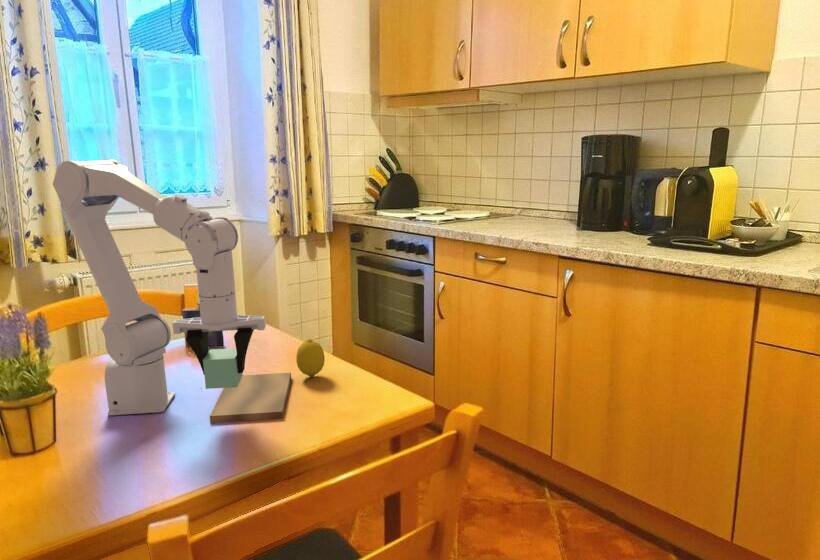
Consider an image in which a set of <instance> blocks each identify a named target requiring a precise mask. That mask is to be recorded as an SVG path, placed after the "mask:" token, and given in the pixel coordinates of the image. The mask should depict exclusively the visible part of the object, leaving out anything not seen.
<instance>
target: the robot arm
mask: <svg viewBox="0 0 820 560" xmlns="http://www.w3.org/2000/svg"><path fill="white" fill-rule="evenodd" d="M52 186H53V188H54V190H55V193H56V195H57V196H58V199H59V201H60V204H61V205H62V208H63V210H64V212H65V215H66V219H67V221H68V224H69V226H70V229H71V231H72V233H73V235H74V237H75V239H76V242H77V244H78V247H79V248H80V250H81V253H82V255H83V257H84V260H85V261H86V264H87V266H88V268H89V271H90V272H91V274H92V277H93V280H94V281H95V283H96V286H97V288H98V290H99V292H100V294H101V297H102V299H103V301H104V303H105V305H106V307H107V310H108V312H109V313H108V315H107V317H106V319H105V321H104V322H103V324H102V326H101V328H100V329H101V331H102V334H103V335H104V340H105V342H104V343H105V349H106V352H107V354H108V355H109V357H110V359H111V360H109V361H108V362H107V364H106V367H105V369H104V386H105V393H106V399H107V401H106V402H107V407H108V411H107V416H120V415H135V414H136V415H137V414H138V415H139V414H150V413H151V414H152V413H153V414H154V413H163V412H165V410H166V409H167V407H168V406H169V405H170V404H171V401H172V400H173V398H174V397H175V395H176V392H175V391H169V392H168V385H167V378H166V369H165V360H164V359H165V358H164V354H166V352H167V350H166V347H168V345H169V344H170V342H171V338H172V332H171V329H170V325H169V324H168V322H167V321H166V320H165V319H164V318H163V317H162V316H161V315H160V313H159V311H158V308H157V307H156V306H153V305H152V304H150V303H147V302H145V301H142V298H141V297H140V296H141V295H139V292H138V289H137V288H136V285H135V284H134V282H133V279H132V276H131V275H130V272H129V270H128V268H127V265H126V263H125V261H124V259H123V257H122V254H121V252H120V250H119V248H118V246H117V243H116V241H115V239H114V237H113V234H112V233H111V230H110V227H109V226H108V223H107V221H106V218H107V217H106V216H107V215H108V212H109V211H111V210H112V208H113V207H114V206H115V204H116V203H117V202H118V200H119V199H123V200H125V201H126V202H128V203H130V204H132V205H133V206H136V207H138V208H139V209H141V210H143V211H145V212H148V213H149V214H152V216H153V222H154V224H155V225H156V226H158V228H161V229H162V230H163V231H166V232H167V233H168V234H170V235H172V236H173V237H175V238H176V239H178V240H179V241H182V242H183V243H184V245H185V248H186V251H188V252H189V254H190V255H191V258H192V264H193V266H194V268H195V270H196V271H195V272H196V280H197V293H198V303H200V314H201V317H197V318H189V319H183V318H180V319H179V318H178V319H175V320H174V321H173V322H172V330H173V335H181V334H182V333H184V332H187V337H186V342H187V344H188V345H189V346H190V347H189V348H190V349H191V350H192V351H193V353H194V355H195V356H196V359H197V361H198V362H199V365H200V368H201V370H202V374H203V375H204V365H203V359H204V358H205V356H206V355H207V354H208V352H209V351H210V350H209V347H208V331H223V332H226V331H236V332H235V333H234V335H233V339H234V343H235V349H236V351H237V368H238V373H242V374H243V373H244V371H245V368H246V365H245V364H246V356H247V351H248V349H249V344H250V341H251V339H252V336H253V333H254V331H255V330H257V331H265V329H266V327H267V326H266V325H267V323H266V316H265V315H249V314H247V315H242V314H238V310H237V309H238V307H237V296H236V284H235V273H234V259H233V250H234V249H235V248H236V247H237V245H238V242H239V233H238V230H237V228H236V226H235V224H234V223H233V222H231V221H230V220H229V219H228V218H227V217H225V216H224V217H223V216H218V217H213V216H211V215H210V212H208V211H206V210H201V209H199V208H197V207H196V206H194V205H193V204H190V203H189V202H187V201H188V199H187V197H185V196H183V195H174V194H173V195H168V196H164V195H163V194H161V193H160V192H158V191H157V190H155V189H154V188H152V187H151V186H150V185H149V184H147V183H145V182H144V181H143V180H141V179H140V178H138V177H137V176H136V175H135V174H132V173H131V172H130V169H129V167H128V166H126V165H123V164H121V162H119V161H117V160H115V159H109V158H108V159H104V160H86V161H85V160H83V161H81V160H79V161H77V160H76V161H75V160H65V161H64V160H63V161H62V162H60V164H59V165H58V166H57V168H56V171H55V174H54V178H53V181H52ZM130 322H133V323H130ZM127 323H129V324H127Z"/></svg>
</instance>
